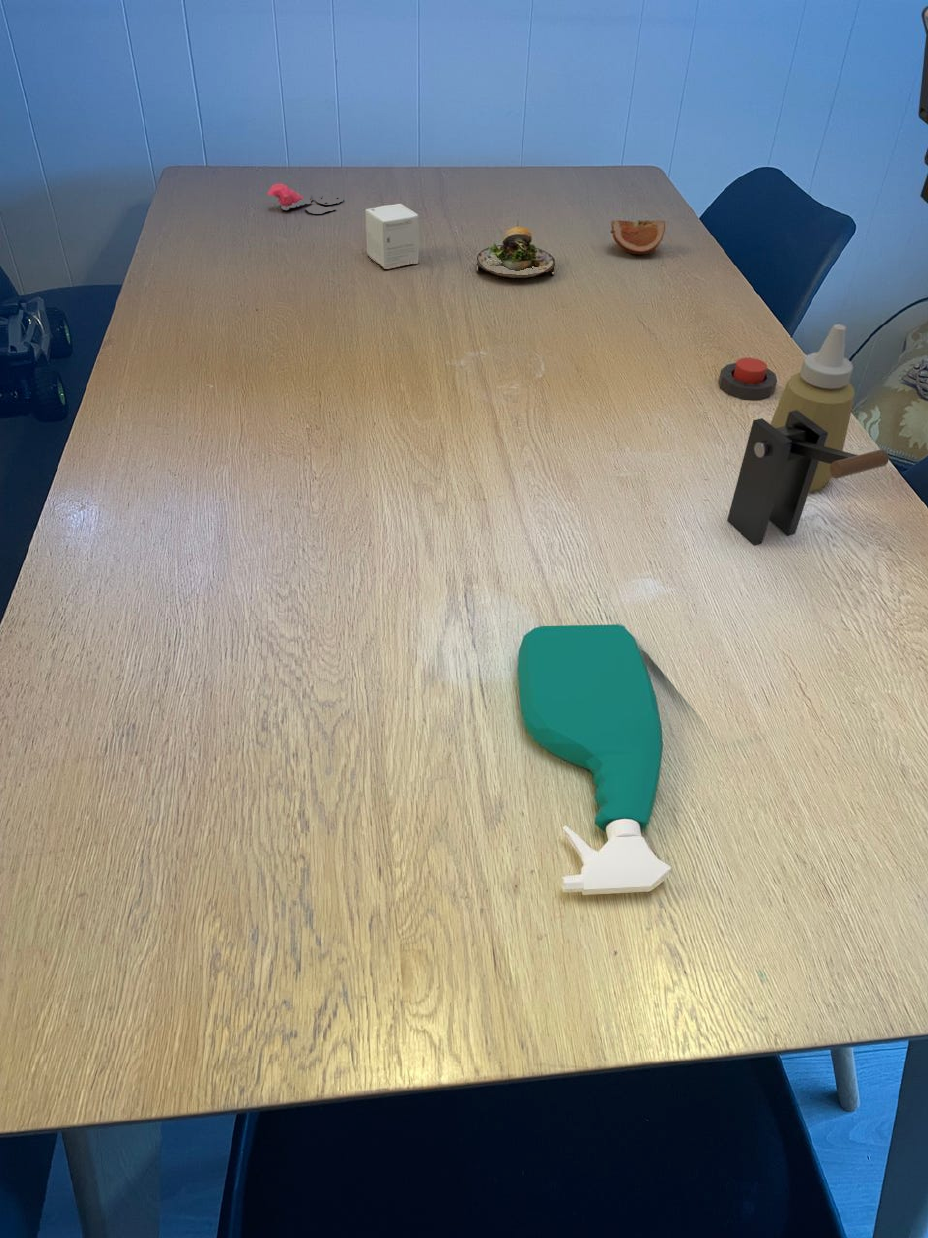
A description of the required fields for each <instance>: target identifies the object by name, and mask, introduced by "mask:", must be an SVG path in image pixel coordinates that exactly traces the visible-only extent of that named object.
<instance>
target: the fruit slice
mask: <svg viewBox="0 0 928 1238" xmlns="http://www.w3.org/2000/svg"><path fill="white" fill-rule="evenodd" d="M610 223H611V230H610V234H612V238H613V241H614V242H615V243H616V244H617V245H618V246H619V247H620V248H621V249H622V250H624V251H625V252H626V253H629V254H632V255H635V254H638V255H637V256H642V255H641V254H643V255H646V254H649V253H651V252H652V251H654V250H655V249H657V248H658V247H659V245H660V244H661V242H662V241H663V239H664V236H665V232H666V221H665V220H637V221H632V220H614V219H613V220H611V222H610Z"/></svg>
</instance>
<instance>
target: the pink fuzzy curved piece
mask: <svg viewBox="0 0 928 1238" xmlns="http://www.w3.org/2000/svg"><path fill="white" fill-rule="evenodd" d="M296 192H297V191H296ZM296 192H295V190H293V189H291V188H289V187H288V186H287V185H286V184H283V183H281V182H280V183H275V184H273V185H271V187H270V189H269V190H268V192H267V193H266V195H267V196H273V197H275V198H278V203H279V202H280V205H282V206H286V207H287V206H290V205H292V203H297V202H298V201H299V200H302V198H304V197H303V196H301V195H300V194H298V193H296Z"/></svg>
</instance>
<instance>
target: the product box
mask: <svg viewBox="0 0 928 1238" xmlns="http://www.w3.org/2000/svg"><path fill="white" fill-rule="evenodd" d="M419 221H420V220H419V214H417V213H416V211H413V210H412V209H410V208H408V207H407V206H405V205H404V204H402V203H396V204H390V205H388V204H387V205H381V206H376V207H370V208H366V209H365V230H366V231H365V232H366V233H365V234H366V254H367V253H368V254H369V255H370V256H371V257H372V258H374V259H375V260H376V261H377V262H378V263H379V264H381V265H382V266H391V265H396V264H400V263H405V262H409V261H415V260H419V261H420V228H419V227H420V222H419Z"/></svg>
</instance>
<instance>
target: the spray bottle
mask: <svg viewBox="0 0 928 1238" xmlns="http://www.w3.org/2000/svg"><path fill="white" fill-rule="evenodd" d="M520 643H521V644H520V646H519V648H518V657H517V658H518V660H517V679H518V692H519V704H520V713H521V716H522V720H523V724H524V727H525V729H526V730H527V732H528V734H529V735H530V736H531V738H532V739H533V741H535V742H536V743H537V744H539V745H540V746H541V747H543V748H544V749H546V750H547V751H548V752H550V753H551V754H552V755H554V756H556V757H558V758H559V759H562V760H564V761H566V762H568V763H570V764H573V765H575V766H578V767H579V768H583V769H587V770H589V771H590V773H591V774H592V775H593V781H592V783H593V785H594V786H595V787H596V791H595V793H594V800H595V803H596V804H597V806H598V808H599V809H598V811H597V813H596V815H595V818H594V825H595V826H596V827H598V828H599V829H600V830H601V831H603V832H604V833H605V834H606V836H607V841H606V842H605V843H604V844H603V846H602V847H601V848H600V850H596V849H594V848H592V847H590V846H589V845H588V844H587V843H586V842H585V841H584V840H583V839H582V838H581V837H580V836H579V835H578V834H577V833H576V832H575V831H573V829H571V828H570V827H568V826H567V825H566V824H564V825H563V826H562V827H561V831H562V832H563V834H564V835H565V837H566V838H567V840H568V841H569V843H570V844H571V845H572V847H573V848H574V850H575V851H576V853H577V854H578V855H579V859H580V860H581V863H582V867H581V869H580V874H571V875H566V876H561V881H560V882H561V888H562V892H563V893H581V894H582V896H586V895H588V896H589V895H607V894H625V893H626V894H627V893H629V894H630V893H645V892H646V893H648V892H651V891H653V890H654V889H655V888H657V887H658V886H659V885H661V884H662V883H663V882H665V881H666V880H667V879H669V876H670V872H671V869H672V867H671V866H670V865H669V864H667V863H666V862H664V861H662V860H660V858H658V857H657V856H656V855H655V853H654V852H653V851H652V850H651V849H650V847H649V845H648V843H647V841H646V839H645V837H643V835H642V831H643V830H645V829H647V827H648V825H649V822H650V819H651V816H652V813H653V809H654V805H655V801H656V797H657V790H658V785H659V781H660V774H661V765H662V756H663V748H664V744H663V743H664V742H663V728H662V722H661V716H660V710H659V705H658V700H657V699H658V698H657V695H656V692H655V689H654V686H653V683H652V679H651V676H650V674H649V670H648V667H647V665H646V662H645V660H644V657H643V655H642V652H641V651H640V650H641V649H640V648H639V645H638V643H637V641H636V638H635V636H633V634H632V633H630V631H629V630H628V629H627V628H626V627H625V626H624V625H620V624H616V623H615V624H575V625H571V624H570V625H568V624H567V625H541V626H537V627H534V628H532V629H531V630H529V631H528V632H527V633H525V634H523V636H522V640H521V642H520Z"/></svg>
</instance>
